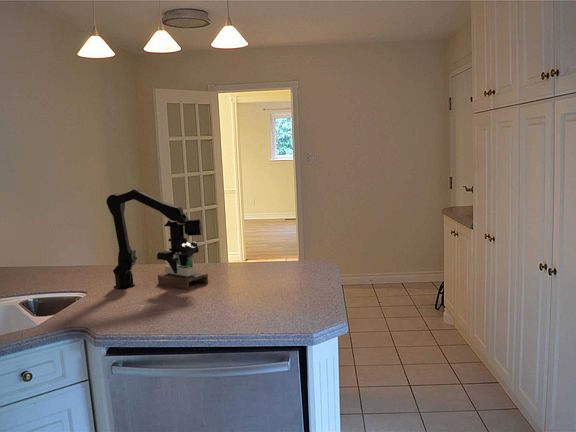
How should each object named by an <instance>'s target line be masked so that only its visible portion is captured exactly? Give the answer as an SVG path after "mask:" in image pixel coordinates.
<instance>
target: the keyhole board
mask: <svg viewBox="0 0 576 432" xmlns="http://www.w3.org/2000/svg"><path fill="white" fill-rule="evenodd" d="M190 281H191V282H198V283H204V284H208V283H209V275H208V273H207V272H206V273H205V272H200V271H195V275H191V276H190V277H189V278H187V276H182V275H176V274H174V275H171V274H170V273H165V272H164V273H160V274H158V275H157V283H158V285H162V286H166V287H172V288H178V289H182V290H190V283H191V282H190Z"/></svg>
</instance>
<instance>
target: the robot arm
mask: <svg viewBox="0 0 576 432" xmlns="http://www.w3.org/2000/svg"><path fill="white" fill-rule="evenodd" d="M133 200H134V201H137V202H139V203H141V204H143V205H145V206H147V207H149V208H152V209H154V210H156V211H158V212H160V213H161V214H162V215H163V216H164V217H166V218H167V219H168V220H167V222H166V223H165V224H164V227H169V238H168V242H170V247H169V248H168V250H169V251H166V250H163V251H158V253H157V254H156V260H161V261H166V262H167V264H168V265H169V264H170V266H171V268H172V270H173V271H174V273H175V274H176V273H177V260H178V258H176V255H179V259H180V264H181V265H182V266H186V264H187V261H188V259H189V258H190V257H191V256H192V255H193V254H194V255H195V254H197V253H199V246H198V242H197V241H191V242H188V240H187V237H185V235H187V236H189V237H190V236H202V234H203V226H202V223H201V219H200V218H197V219H189V218H188V217H187V215H185V213H184V209H183V207H181V206H180V205H176V204H171V203H167V202H164V201H161V200H160V199H157V198H155V197H154V196H151V195H149V194H147V193H144V192H142V191H141V190H140V189H137V188H134V189H132V190H131V189H130V191H127V192H124V193H114V194H110V195H109V196H108V197H107V199H106V206H107V207H108V211H109V212H110V214H111V215H112V218H113V223H114V230H115V234H116V239H117V244H118V254H117V265H116V266H115V268H114V269H113V270H112V272H113V274H114V281H115V285H113V288H116V289H120V290H125V289H127V288H131V287H135V286H136V284H135V283H134V275H133V273H132V270H133V269H132V268H133V267H134V266H135V265H136V264H137V260H138V258H137V256H136V250H135V249H132V248H131V245H130V241H129V235H128V230H127V226H126V225H127V223H126V219H125V209H126V203H127V202H129V201H133Z"/></svg>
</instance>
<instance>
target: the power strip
mask: <svg viewBox="0 0 576 432" xmlns="http://www.w3.org/2000/svg"><path fill="white" fill-rule="evenodd" d="M195 272H196V270H195V267H194V266H193V267H188V266H182V265H177V273H176V275H182V276H187V278H189V277H190V276H191V275H195ZM164 273H170V274H171V275H174V274H175V273H174V271H173V270H172V268H171V266H170V264H169V263H168V264H166V265H164ZM189 283H192V281H190V282H189Z"/></svg>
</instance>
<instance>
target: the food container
mask: <svg viewBox="0 0 576 432" xmlns="http://www.w3.org/2000/svg"><path fill="white" fill-rule="evenodd" d="M194 256H195V253H194V254H193V255H192V256H191V257H190V258H189V259H188V261H187V264H186V266H188V267H194V264H193V263H194V259H193V258H194ZM176 258H178V260H177V265H181V264H180V259H179V255H176Z"/></svg>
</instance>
